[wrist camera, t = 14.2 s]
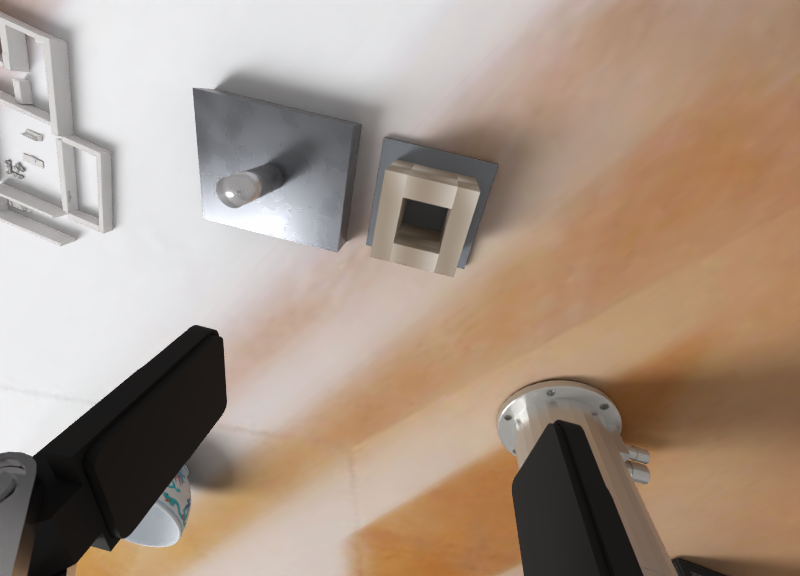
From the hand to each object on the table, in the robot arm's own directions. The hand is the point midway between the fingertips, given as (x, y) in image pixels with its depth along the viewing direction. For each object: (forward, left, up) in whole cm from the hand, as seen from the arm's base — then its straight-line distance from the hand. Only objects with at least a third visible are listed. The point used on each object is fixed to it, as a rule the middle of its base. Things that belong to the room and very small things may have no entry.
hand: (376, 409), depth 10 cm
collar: (0, 0, -21) cm, 21 cm away
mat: (0, 0, -22) cm, 22 cm away
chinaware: (+30, +49, -22) cm, 61 cm away
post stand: (+13, 0, -22) cm, 25 cm away
